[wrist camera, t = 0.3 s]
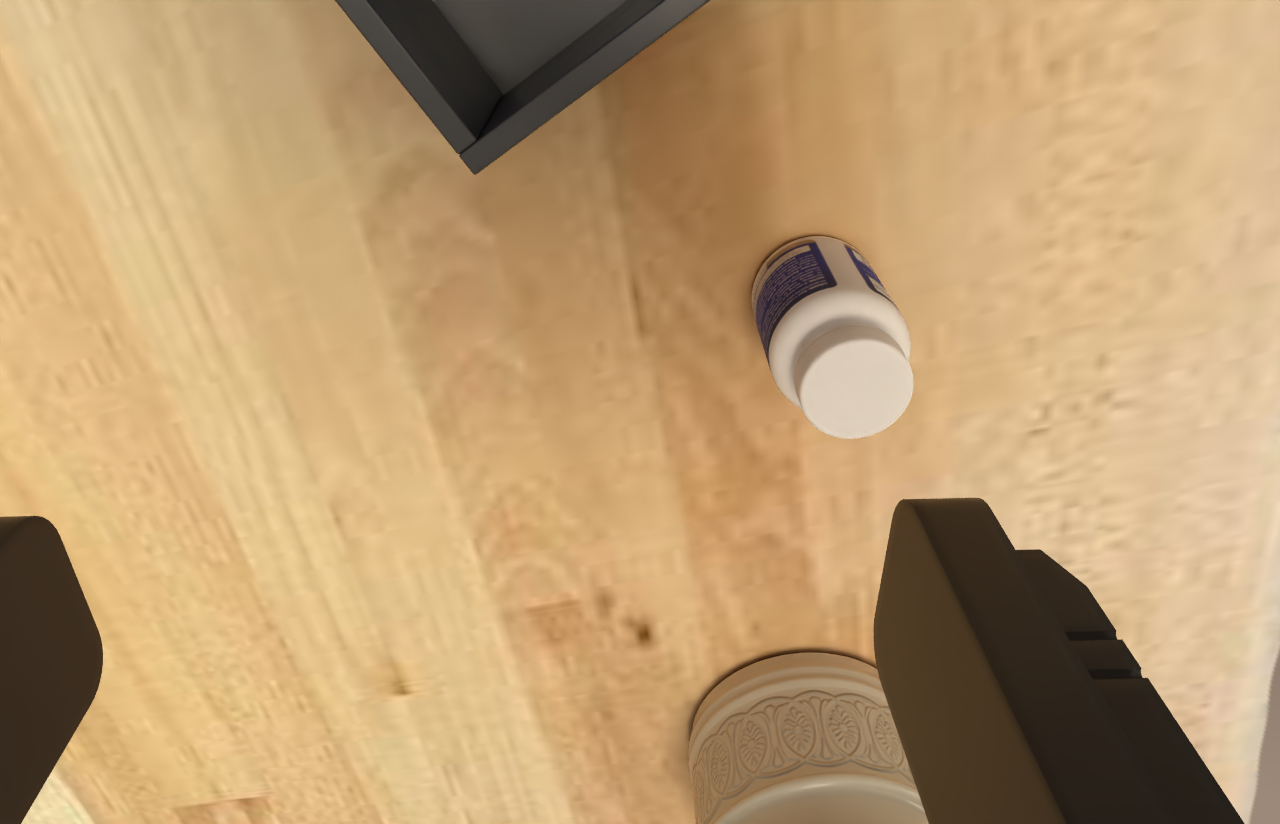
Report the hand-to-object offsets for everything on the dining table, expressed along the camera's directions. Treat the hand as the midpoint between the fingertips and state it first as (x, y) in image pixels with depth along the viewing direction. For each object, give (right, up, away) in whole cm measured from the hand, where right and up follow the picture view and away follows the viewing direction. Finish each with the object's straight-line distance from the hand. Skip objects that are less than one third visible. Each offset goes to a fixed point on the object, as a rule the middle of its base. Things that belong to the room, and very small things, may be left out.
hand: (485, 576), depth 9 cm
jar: (+11, -16, +44) cm, 49 cm away
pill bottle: (+9, +7, +31) cm, 33 cm away
